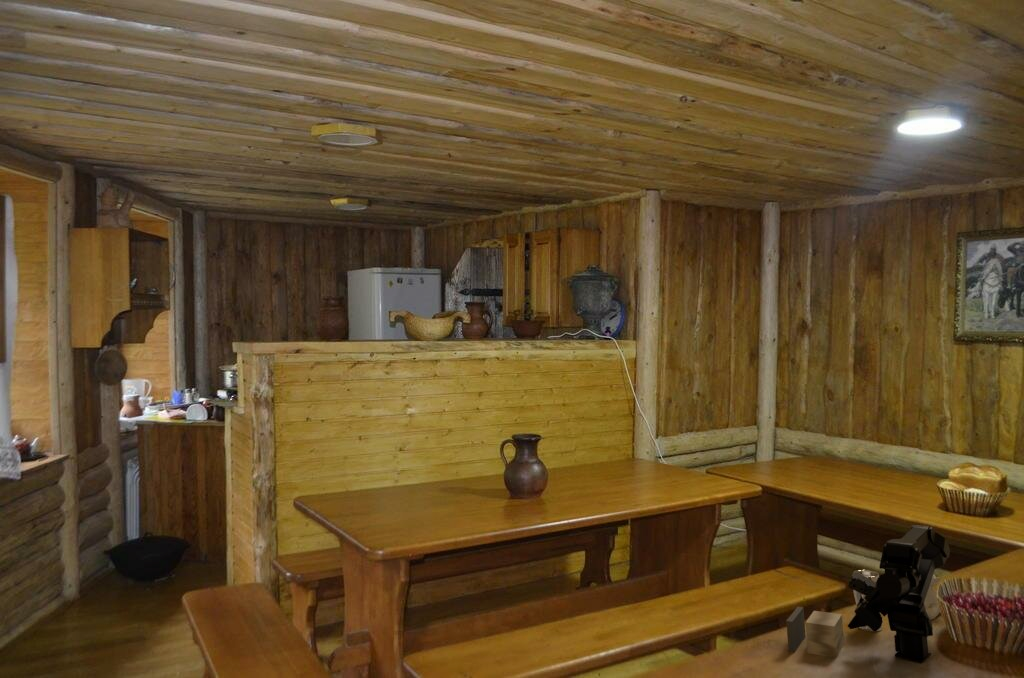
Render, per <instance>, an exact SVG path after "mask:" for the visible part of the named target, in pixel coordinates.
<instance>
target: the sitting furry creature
mask: <svg viewBox="0 0 1024 678" xmlns="http://www.w3.org/2000/svg"><path fill="white" fill-rule="evenodd" d="M940 579H941V578H940V577H937V576H936V575H935V574H933V577H932V580H931V583H930V586H929V589H928V592H927V595H926V598H925V601H924V605H925V609H926V613H927V614H928V616H929V618H930V620H931V621H932V620H935V619H936V617H937V616H938V615H939V614H940V613H941V611H940V608H939V604H938V602H937V597H938V592H937V591H936V589H935V588H934V587H935V586H936V584H938V583H939V582H940ZM936 595H937V597H936Z"/></svg>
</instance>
